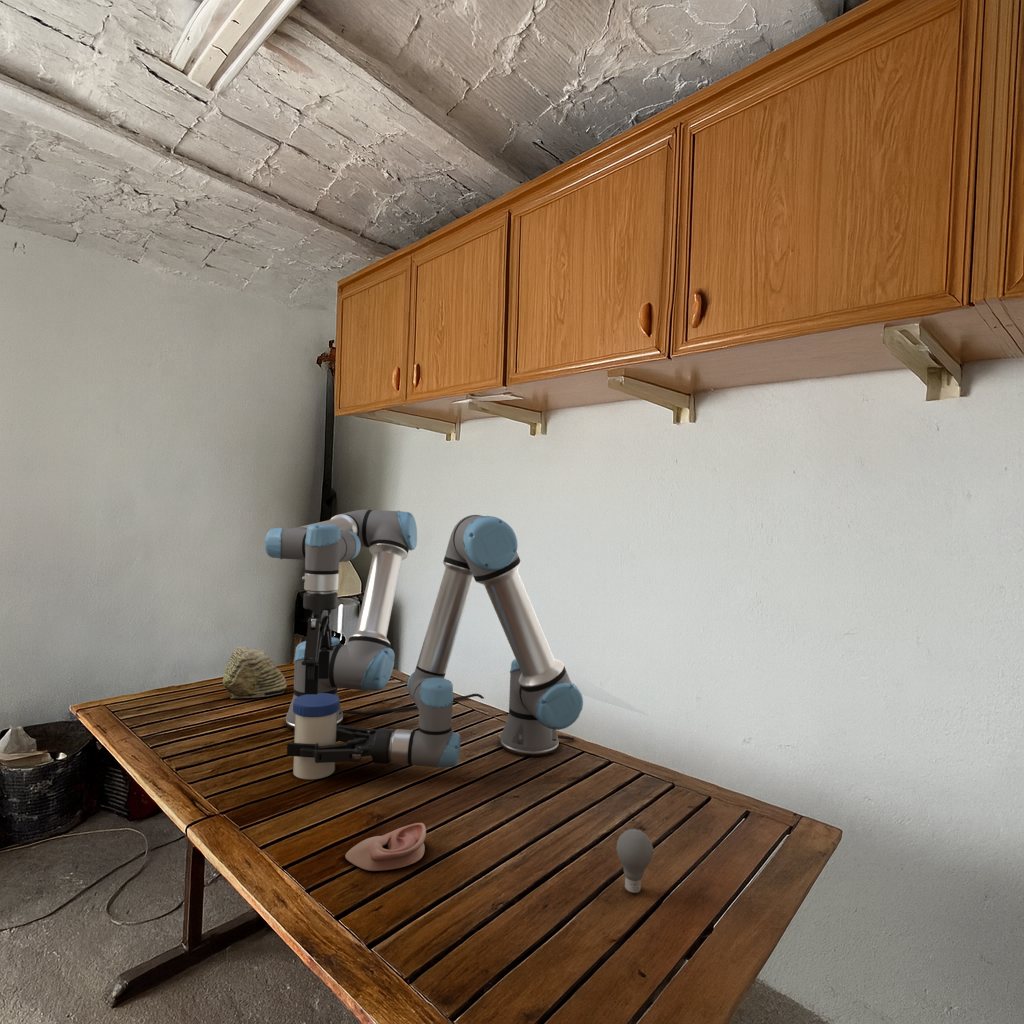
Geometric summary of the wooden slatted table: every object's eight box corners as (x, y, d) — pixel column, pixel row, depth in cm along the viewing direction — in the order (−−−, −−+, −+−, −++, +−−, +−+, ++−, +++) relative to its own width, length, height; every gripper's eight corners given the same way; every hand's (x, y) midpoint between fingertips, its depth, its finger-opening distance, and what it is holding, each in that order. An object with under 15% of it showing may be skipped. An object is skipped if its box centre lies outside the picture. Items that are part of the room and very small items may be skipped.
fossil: (218, 695, 195) (220, 647, 195) (278, 685, 208) (279, 640, 207) (228, 703, 189) (230, 653, 188) (289, 692, 201) (290, 645, 201)
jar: (304, 760, 151) (306, 693, 151) (341, 764, 150) (343, 697, 150) (285, 777, 142) (288, 706, 142) (325, 781, 141) (327, 709, 141)
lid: (305, 700, 152) (305, 691, 152) (346, 704, 150) (346, 694, 150) (284, 715, 141) (285, 704, 141) (328, 719, 140) (329, 708, 140)
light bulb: (610, 879, 108) (613, 822, 108) (644, 879, 109) (647, 822, 109) (619, 902, 102) (622, 840, 102) (655, 901, 103) (658, 840, 103)
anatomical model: (337, 842, 109) (366, 811, 120) (336, 865, 109) (365, 832, 120) (410, 854, 106) (432, 821, 117) (409, 878, 106) (432, 842, 118)
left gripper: (315, 584, 157) (312, 671, 157) (290, 599, 133) (286, 701, 133) (346, 585, 158) (342, 672, 158) (327, 600, 134) (323, 702, 134)
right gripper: (379, 784, 134) (275, 777, 135) (402, 744, 156) (312, 738, 157) (381, 749, 134) (277, 742, 135) (403, 714, 156) (313, 708, 157)
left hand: (317, 685), depth 146 cm, fingers open, 11 cm apart
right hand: (296, 740), depth 146 cm, fingers closed on jar, 9 cm apart
